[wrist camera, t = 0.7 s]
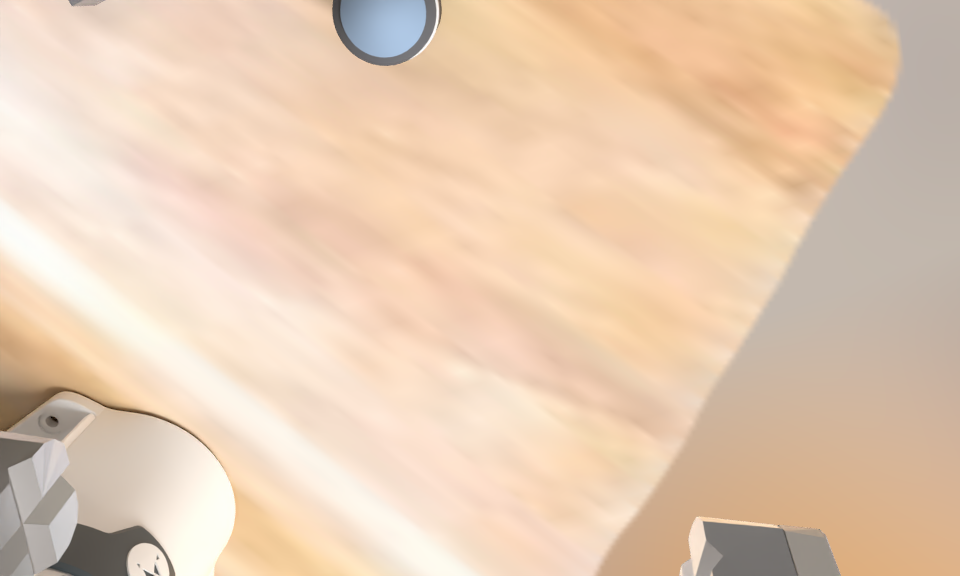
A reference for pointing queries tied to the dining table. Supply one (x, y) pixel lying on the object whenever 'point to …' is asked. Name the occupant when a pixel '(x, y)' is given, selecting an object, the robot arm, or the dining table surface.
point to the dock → (85, 2)
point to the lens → (386, 28)
